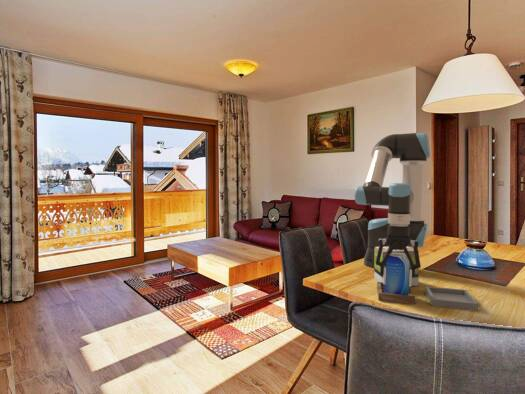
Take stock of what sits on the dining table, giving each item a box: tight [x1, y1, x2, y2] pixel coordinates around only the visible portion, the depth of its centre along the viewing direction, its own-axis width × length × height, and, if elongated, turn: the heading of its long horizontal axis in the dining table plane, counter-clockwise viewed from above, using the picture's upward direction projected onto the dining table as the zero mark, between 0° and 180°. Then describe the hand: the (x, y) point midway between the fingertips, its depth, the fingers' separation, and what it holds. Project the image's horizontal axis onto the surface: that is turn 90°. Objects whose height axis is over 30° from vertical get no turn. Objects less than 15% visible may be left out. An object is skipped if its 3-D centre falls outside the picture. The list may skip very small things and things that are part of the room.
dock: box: [376, 281, 416, 305], centre depth 126 cm, size 13×12×2 cm
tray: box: [424, 285, 480, 312], centre depth 120 cm, size 14×14×2 cm
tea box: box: [373, 246, 420, 287], centre depth 140 cm, size 15×10×15 cm
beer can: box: [384, 252, 410, 295], centre depth 125 cm, size 8×8×16 cm
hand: (396, 284), depth 125 cm, fingers closed on beer can, 8 cm apart
